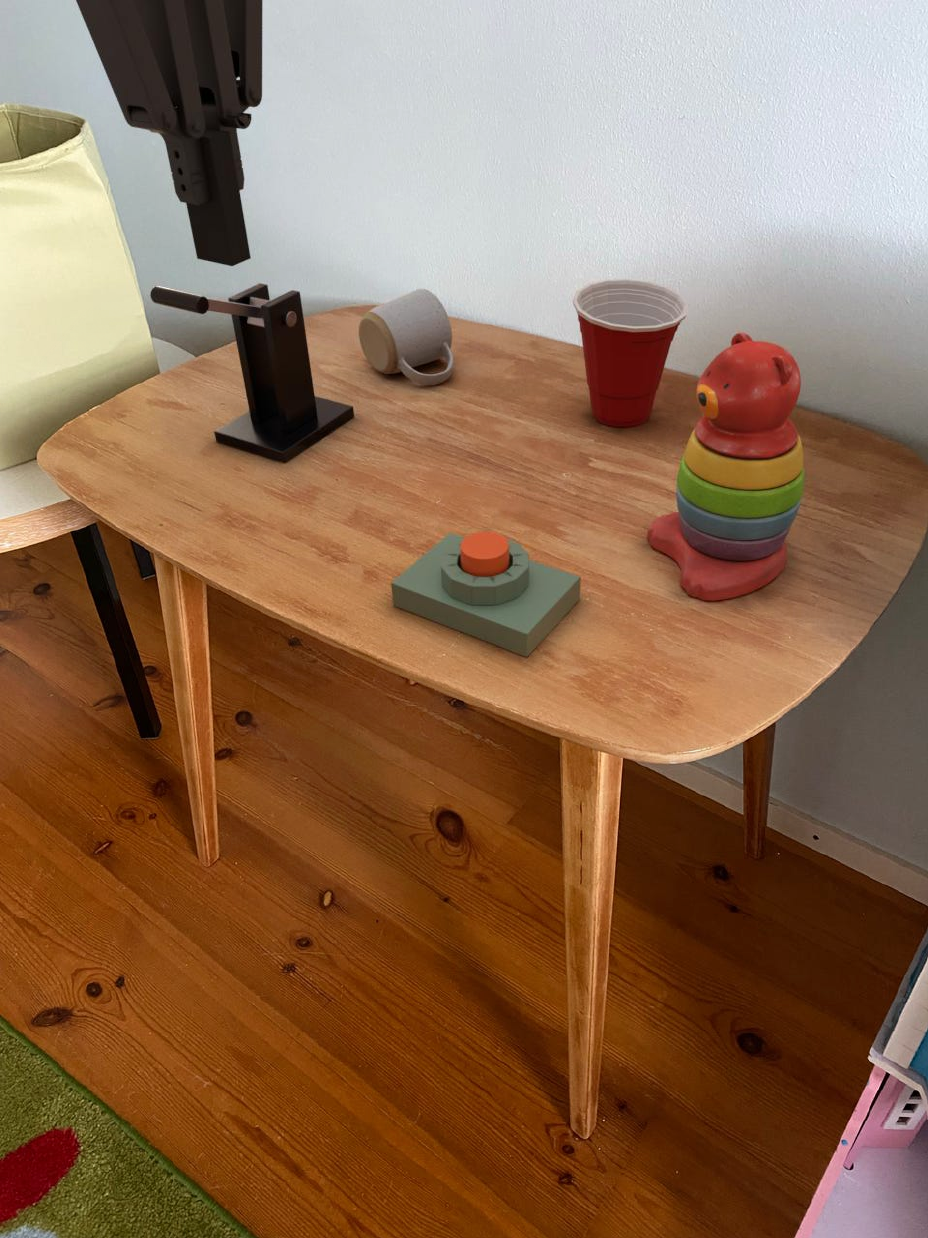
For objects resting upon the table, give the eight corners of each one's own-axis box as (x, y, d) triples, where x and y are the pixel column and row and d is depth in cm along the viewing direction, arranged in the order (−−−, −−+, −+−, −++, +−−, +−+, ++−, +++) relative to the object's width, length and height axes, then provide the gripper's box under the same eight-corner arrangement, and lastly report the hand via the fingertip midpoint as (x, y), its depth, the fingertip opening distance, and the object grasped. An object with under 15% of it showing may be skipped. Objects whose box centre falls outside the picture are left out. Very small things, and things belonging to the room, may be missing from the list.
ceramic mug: (357, 365, 111) (350, 298, 106) (415, 345, 115) (411, 279, 110) (413, 397, 104) (408, 327, 100) (472, 374, 108) (471, 306, 103)
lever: (195, 319, 81) (198, 289, 81) (148, 307, 84) (151, 278, 83) (297, 333, 93) (301, 306, 92) (253, 322, 95) (257, 297, 94)
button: (451, 569, 73) (450, 549, 72) (478, 545, 76) (477, 526, 74) (492, 583, 72) (492, 564, 70) (518, 559, 74) (518, 540, 73)
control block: (393, 605, 76) (388, 563, 73) (451, 554, 81) (448, 513, 79) (527, 657, 70) (527, 614, 68) (580, 599, 76) (582, 556, 73)
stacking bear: (639, 531, 83) (657, 326, 72) (749, 511, 84) (783, 308, 73) (694, 606, 74) (724, 388, 63) (815, 583, 76) (865, 366, 65)
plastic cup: (627, 452, 93) (636, 330, 86) (546, 415, 100) (548, 298, 92) (699, 414, 99) (714, 296, 91) (618, 382, 105) (625, 269, 98)
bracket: (284, 463, 94) (260, 323, 86) (215, 441, 98) (186, 306, 90) (354, 416, 101) (339, 283, 93) (287, 398, 105) (266, 268, 97)
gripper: (171, -301, 46) (254, 217, 61) (-79, -324, 38) (87, 283, 53) (291, -318, 43) (348, 235, 58) (46, -347, 35) (186, 308, 49)
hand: (223, 257), depth 55 cm, fingers closed
